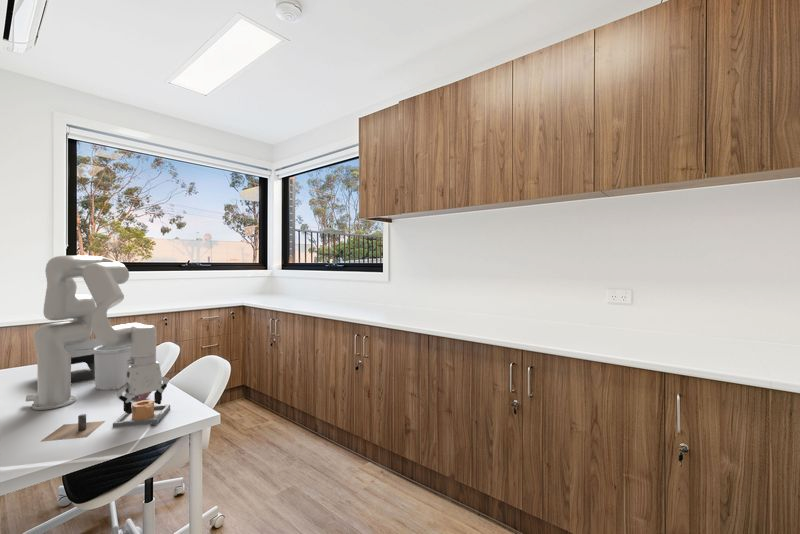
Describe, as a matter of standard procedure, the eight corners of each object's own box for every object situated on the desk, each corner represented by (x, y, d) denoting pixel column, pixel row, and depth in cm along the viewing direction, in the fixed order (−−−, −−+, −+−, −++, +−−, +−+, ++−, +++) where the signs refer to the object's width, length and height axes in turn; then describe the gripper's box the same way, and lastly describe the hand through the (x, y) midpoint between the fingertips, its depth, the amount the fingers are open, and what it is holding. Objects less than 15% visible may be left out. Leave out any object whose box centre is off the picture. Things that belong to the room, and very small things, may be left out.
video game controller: (149, 403, 150) (156, 385, 153) (139, 401, 146) (147, 383, 149) (131, 399, 153) (139, 382, 156) (121, 398, 149) (129, 380, 152)
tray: (112, 429, 123) (112, 423, 123) (130, 412, 137) (130, 407, 137) (156, 425, 127) (156, 419, 127) (170, 409, 140) (170, 404, 140)
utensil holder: (127, 389, 161) (127, 349, 161) (86, 392, 157) (86, 351, 157) (140, 378, 175) (140, 341, 175) (103, 381, 171) (103, 343, 171)
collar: (140, 423, 127) (140, 408, 127) (129, 418, 131) (129, 404, 131) (159, 416, 132) (159, 403, 132) (147, 412, 136) (147, 398, 136)
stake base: (40, 444, 113) (40, 425, 113) (63, 426, 125) (63, 410, 125) (86, 439, 116) (86, 421, 116) (105, 423, 128) (105, 407, 128)
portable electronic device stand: (107, 365, 197) (107, 336, 196) (124, 373, 183) (124, 342, 183) (41, 376, 176) (41, 344, 175) (55, 387, 162) (55, 352, 162)
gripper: (121, 367, 122) (120, 419, 123) (174, 356, 137) (174, 402, 138) (109, 364, 126) (109, 414, 126) (163, 353, 141) (162, 398, 141)
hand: (143, 407), depth 132 cm, fingers open, 9 cm apart
